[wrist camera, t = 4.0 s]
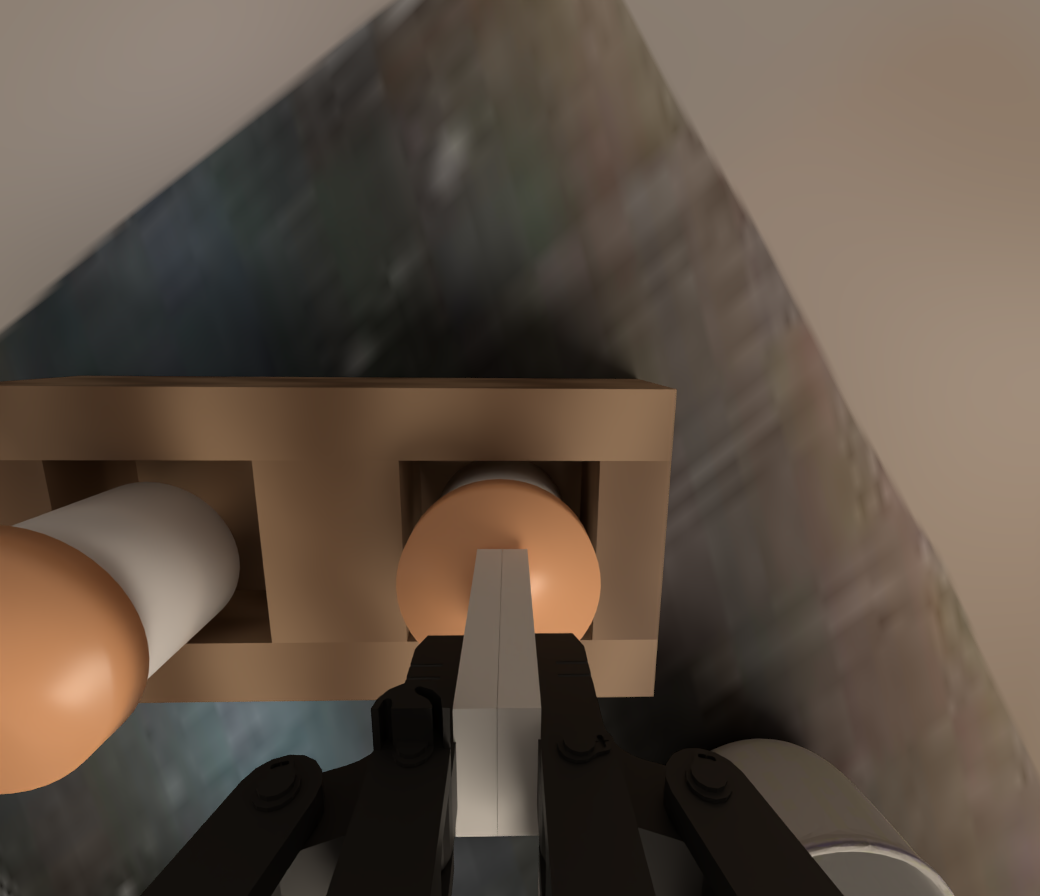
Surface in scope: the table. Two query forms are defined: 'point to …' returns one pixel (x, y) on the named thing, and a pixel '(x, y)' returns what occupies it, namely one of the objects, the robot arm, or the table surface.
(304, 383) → the brown wooden block
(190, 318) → the table surface
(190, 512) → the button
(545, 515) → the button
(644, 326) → the table surface
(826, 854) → the teacup
